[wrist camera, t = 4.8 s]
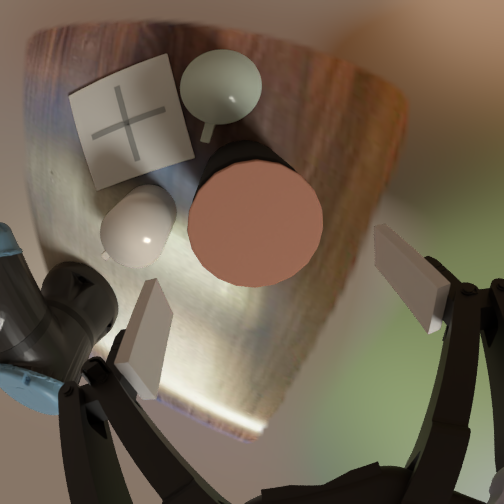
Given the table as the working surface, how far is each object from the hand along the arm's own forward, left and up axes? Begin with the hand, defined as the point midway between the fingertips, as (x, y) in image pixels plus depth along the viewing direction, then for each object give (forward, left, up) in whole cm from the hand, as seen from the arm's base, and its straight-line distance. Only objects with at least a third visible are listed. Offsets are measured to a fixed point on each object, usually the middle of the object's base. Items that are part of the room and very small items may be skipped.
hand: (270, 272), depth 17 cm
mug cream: (-15, -1, -24) cm, 29 cm away
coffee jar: (0, 0, -25) cm, 25 cm away
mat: (-13, +12, -24) cm, 30 cm away
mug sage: (-1, +11, -24) cm, 27 cm away
